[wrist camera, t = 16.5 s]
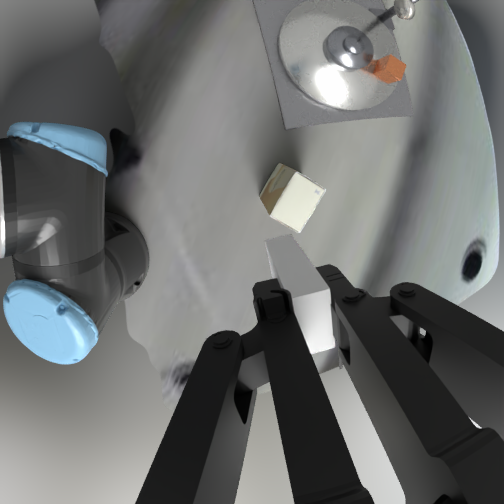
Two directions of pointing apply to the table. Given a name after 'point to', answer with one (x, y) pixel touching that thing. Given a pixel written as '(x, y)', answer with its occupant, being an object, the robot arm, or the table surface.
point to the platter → (321, 71)
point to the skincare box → (291, 197)
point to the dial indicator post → (395, 12)
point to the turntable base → (299, 103)
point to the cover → (348, 49)
